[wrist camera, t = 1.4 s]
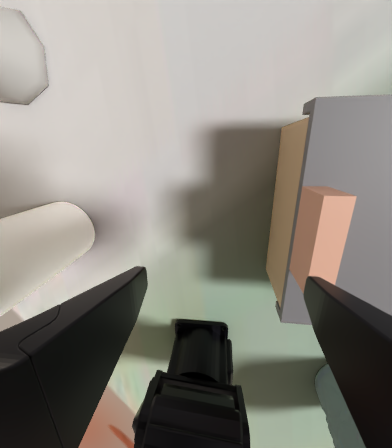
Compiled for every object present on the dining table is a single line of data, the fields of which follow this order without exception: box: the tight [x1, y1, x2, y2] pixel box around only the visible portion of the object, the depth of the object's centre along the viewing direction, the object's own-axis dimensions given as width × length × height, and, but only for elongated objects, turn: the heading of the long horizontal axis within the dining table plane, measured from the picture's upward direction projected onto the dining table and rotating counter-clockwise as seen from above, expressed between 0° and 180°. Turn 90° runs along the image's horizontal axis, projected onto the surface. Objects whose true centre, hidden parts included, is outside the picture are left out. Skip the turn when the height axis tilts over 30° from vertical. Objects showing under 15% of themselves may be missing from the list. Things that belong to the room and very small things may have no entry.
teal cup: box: [315, 364, 366, 448], centre depth 21 cm, size 10×10×12 cm
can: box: [0, 202, 95, 316], centre depth 18 cm, size 6×6×12 cm
